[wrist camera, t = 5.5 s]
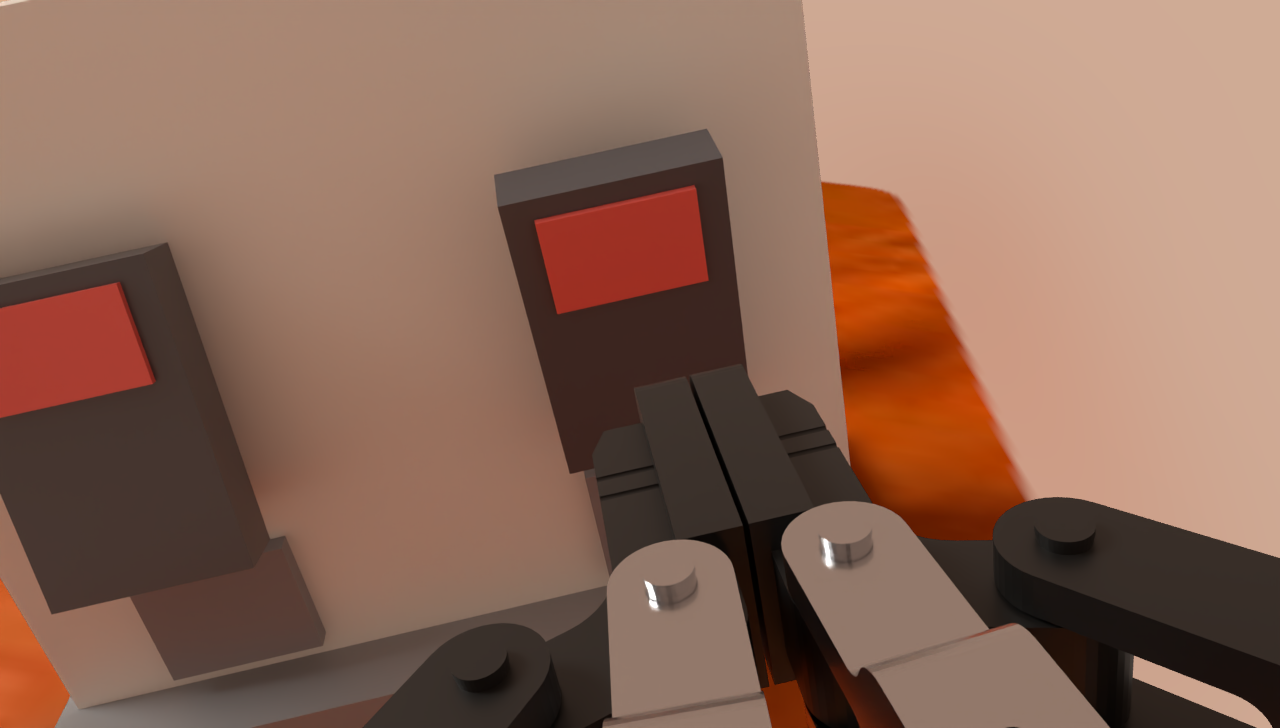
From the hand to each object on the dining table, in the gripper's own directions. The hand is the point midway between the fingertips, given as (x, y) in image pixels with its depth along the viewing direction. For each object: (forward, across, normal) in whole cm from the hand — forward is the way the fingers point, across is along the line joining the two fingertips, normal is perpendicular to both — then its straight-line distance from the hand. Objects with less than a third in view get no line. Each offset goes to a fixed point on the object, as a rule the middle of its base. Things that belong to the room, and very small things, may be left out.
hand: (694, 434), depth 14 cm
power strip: (+14, +6, +14) cm, 21 cm away
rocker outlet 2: (+12, 0, +7) cm, 14 cm away
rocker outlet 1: (+10, +13, +7) cm, 18 cm away
